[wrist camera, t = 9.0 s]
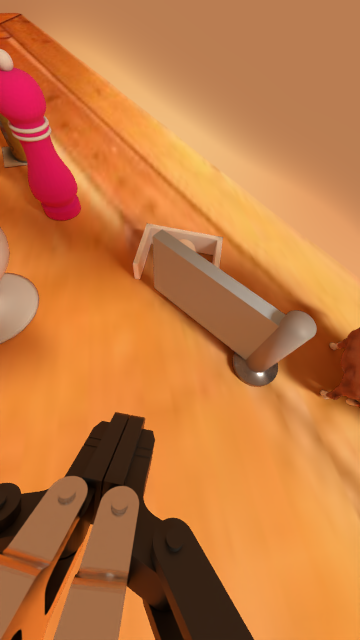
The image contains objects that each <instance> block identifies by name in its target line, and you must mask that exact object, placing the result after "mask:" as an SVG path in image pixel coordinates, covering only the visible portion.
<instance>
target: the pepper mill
mask: <svg viewBox="0 0 360 640" xmlns="http://www.w3.org/2000/svg"><path fill="white" fill-rule="evenodd" d="M45 111H46V102H45V98H44V95H43V93H42V91H41V89H40V87H39V85H38V84H37V82H36V81H35V80H34V79H33V78H32V77H31V76H30V75H29V74H28V73H26V72H24V71H22V70H20V69H17V68H13V62H12V59H11V57H10V56H9V54H8V53H7V52H5V51H4V50H2V49H0V113H1V114H2V115H3V116H4V117H5V118H7V119H8V120H9V121H8V126H9V127H10V128H11V130H12V134H13V136H14V137H15V138H17V139H19V141H20V143H21V145H22V147H23V150H24V152H25V155H26V159H27V165H28V181H29V186H30V189H31V191H32V193H33V195H34V196H35V198H36V199H38V200H39V201H40V202H41V204H42V207H43V209H44V211H45V213H46V215H47V216H48V217H50V218H51V219H54V220H60V221H61V220H68V219H72V218H73V217H75V216H77V215H78V214H79V212H80V210H81V206H80V202H79V199H78V197H77V195H76V193H77V184H76V181H75V179H74V176H73V175H72V173H71V172H70V170H69V169H68V167H67V166H66V165H65V164H64V162H63V161H62V160H61V159H60V157H59V156H58V154H57V153H56V151H55V149H54V146H53V144H52V142H51V138H50V134H51V128H50V126H49V123H48V119H47V118H46V117H45V116H44V114H45Z"/></svg>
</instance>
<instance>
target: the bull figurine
mask: <svg viewBox="0 0 360 640" xmlns="http://www.w3.org/2000/svg"><path fill="white" fill-rule="evenodd" d="M329 346H330V347H331V349H333V350H336V349H338V348H341V349H342V348H345V350H344V352H343V354H342V357H341V365H342V368H343V371H344V375H343V378H342V381H341V383H340V385H339V386H338V387H336V388H335V389H334V390H333V391H331V392H327V391H325V390H321V391H320V394H321V395H322V396H323V398H324V399H328V398H331V399H334V400H337V399H338V398H339V397H341V396H347V397H349V398H348V399H346V403H347V404H348V405H352V406H359V407H360V403H359V402H358V401H357V400H360V328H358V329H356V330H354V331H352V332H351V333H350V334H349V335H348V337H347V338H346V339H344V340H343V341H341V342H338V343H337V344H335V343H333V342H331V343H330V344H329Z"/></svg>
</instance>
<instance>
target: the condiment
mask: <svg viewBox="0 0 360 640" xmlns="http://www.w3.org/2000/svg"><path fill="white" fill-rule="evenodd" d="M8 121H9V120H8V119H7V118H5V117H4V116H3V115H2V114H1V113H0V129H1V131H2V133H3V135H4V138H5V139H6V141H7V143H8V145H9V147H2V152H3V159H4V167H12V166H19V165H27V159H26V155H25V152H24V150H23V147H22V145H21V143H20V141H19V139H17V138H15V137H14V136H13V134H12V130H11V128H10V127H9V126H8ZM16 161H17V162H16Z"/></svg>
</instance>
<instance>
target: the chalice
mask: <svg viewBox="0 0 360 640" xmlns="http://www.w3.org/2000/svg"><path fill="white" fill-rule="evenodd" d="M9 254H10V252H9V246H8V242H7V238H6V235H5V234H4V232H3V231H2V229H1V228H0V344H1V343H3V342H5V341H7V340H9V339H11V338H13V337H14V336H16V335H17V334H18V333H20V332H21V331H22V330H23V329H24V328H25V327H26V326H27V325H28V324H29V323H30V322H31V320H32V319H33V317H34V316H35V314H36V311H37V308H38V304H39V296H38V291H37V289H36V287H35V286H34V284H33V283H32V282H31V281H30V280H28V279H27V278H25V277H23V276H21V275H17V274H13V273H5V271H6V269H7V265H8V261H9Z"/></svg>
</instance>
